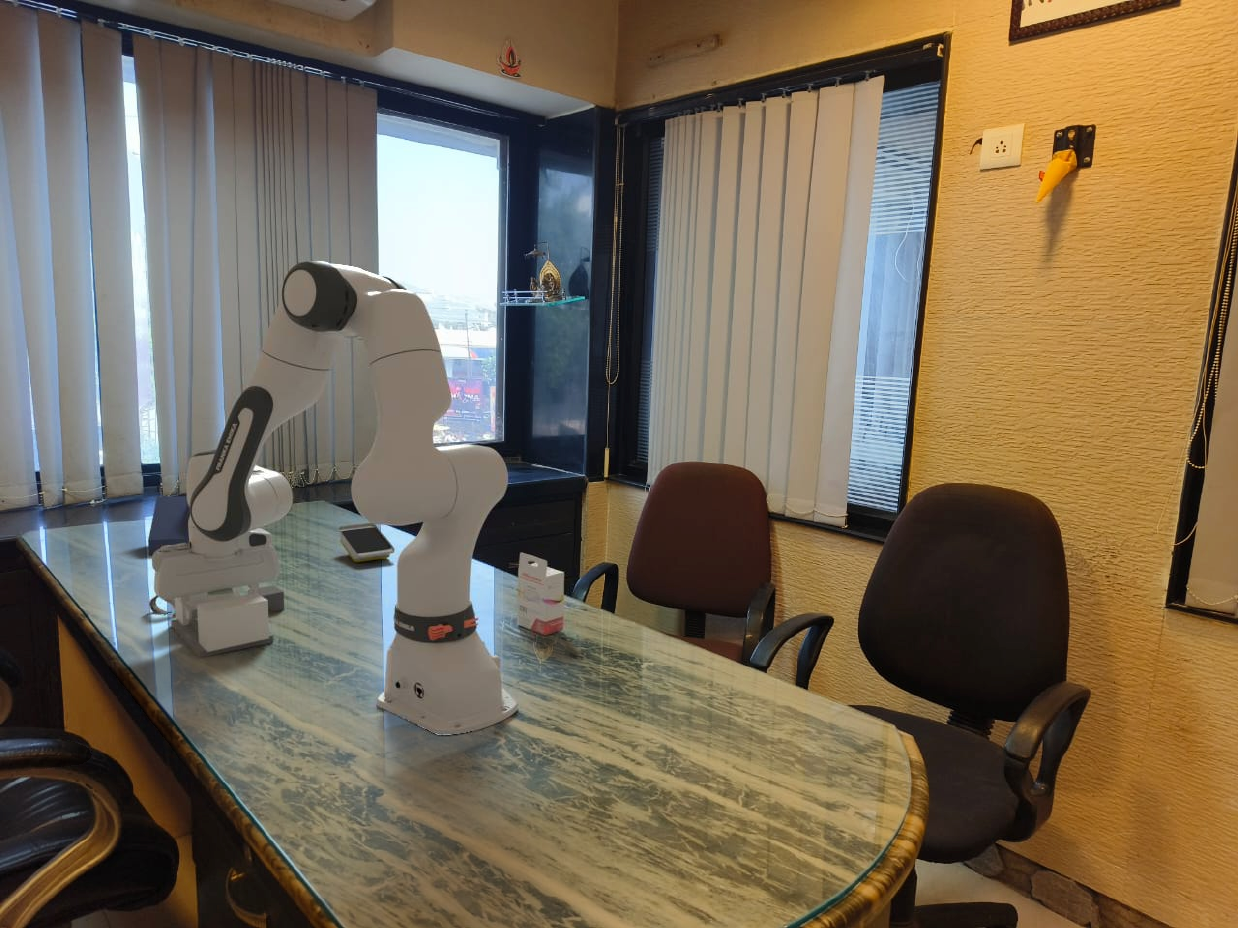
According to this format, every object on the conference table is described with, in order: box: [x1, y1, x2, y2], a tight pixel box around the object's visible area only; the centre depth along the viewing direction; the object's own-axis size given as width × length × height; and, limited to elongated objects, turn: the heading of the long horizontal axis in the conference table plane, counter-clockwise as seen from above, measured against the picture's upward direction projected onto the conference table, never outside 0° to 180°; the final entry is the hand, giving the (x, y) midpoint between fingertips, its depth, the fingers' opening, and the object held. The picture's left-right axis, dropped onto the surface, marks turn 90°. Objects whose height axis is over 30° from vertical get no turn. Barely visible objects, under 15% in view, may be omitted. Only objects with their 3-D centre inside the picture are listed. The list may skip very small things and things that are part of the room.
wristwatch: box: [148, 594, 176, 617], centre depth 152 cm, size 4×6×5 cm, turn 78°
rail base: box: [170, 587, 274, 658], centre depth 143 cm, size 20×12×8 cm, turn 43°
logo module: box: [206, 588, 234, 602], centre depth 143 cm, size 7×4×7 cm, turn 32°
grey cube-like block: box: [247, 584, 285, 614], centre depth 157 cm, size 5×5×4 cm
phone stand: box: [147, 495, 190, 557], centre depth 196 cm, size 12×12×12 cm
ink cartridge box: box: [516, 552, 565, 636], centre depth 153 cm, size 9×5×15 cm, turn 47°
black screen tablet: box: [338, 522, 395, 563], centre depth 196 cm, size 9×4×15 cm
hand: (220, 612), depth 143 cm, fingers open, 8 cm apart
